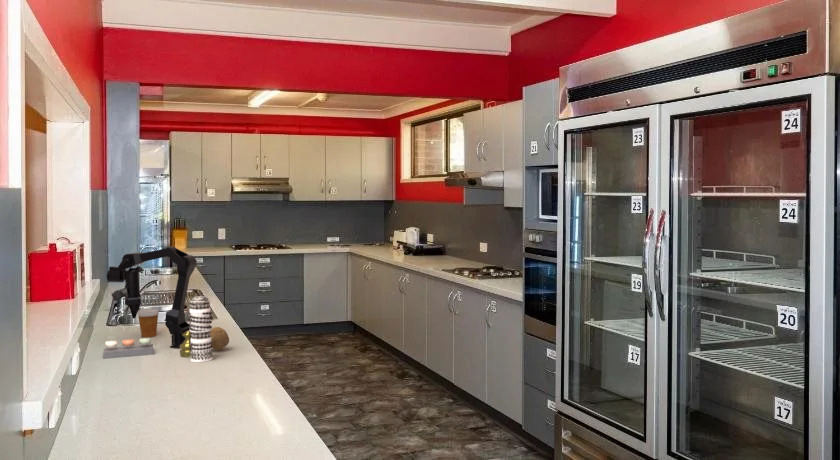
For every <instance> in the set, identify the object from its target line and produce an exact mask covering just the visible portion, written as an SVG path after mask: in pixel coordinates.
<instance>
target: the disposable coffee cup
mask: <svg viewBox="0 0 840 460" xmlns="http://www.w3.org/2000/svg"><path fill="white" fill-rule="evenodd" d="M159 313H160V312H159V309H157V308H143V309H140V310H139V309H138V312H137V315H136V316H137V317H138V323H139V329H140V334H141V338H154V337H157V333H158V332H157V330H158V319H159V315H160V314H159Z"/></svg>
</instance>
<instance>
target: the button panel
mask: <svg viewBox="0 0 840 460" xmlns="http://www.w3.org/2000/svg"><path fill="white" fill-rule="evenodd" d="M154 354H155V353H154V344H153V343H150V344H145V345H141V344H138V345H132V346H116V347H110V348H108V347H104V348H103V352H102V356H103V357H102V358H103V359H104V360H106V359H116V358H127V357H140V356H149V355H151V356H152V355H154Z"/></svg>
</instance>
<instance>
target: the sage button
mask: <svg viewBox="0 0 840 460" xmlns="http://www.w3.org/2000/svg"><path fill="white" fill-rule="evenodd" d="M151 338H152V337H149V338H144V337H140V338H139V341H138V343H139V345H147V344H152V341H151Z"/></svg>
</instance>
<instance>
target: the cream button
mask: <svg viewBox="0 0 840 460" xmlns="http://www.w3.org/2000/svg"><path fill="white" fill-rule="evenodd" d="M104 343H105V345H104V346H105V347H104V348H112V347H118V340H115V339H113V340H106V341H105V342H104Z"/></svg>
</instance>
